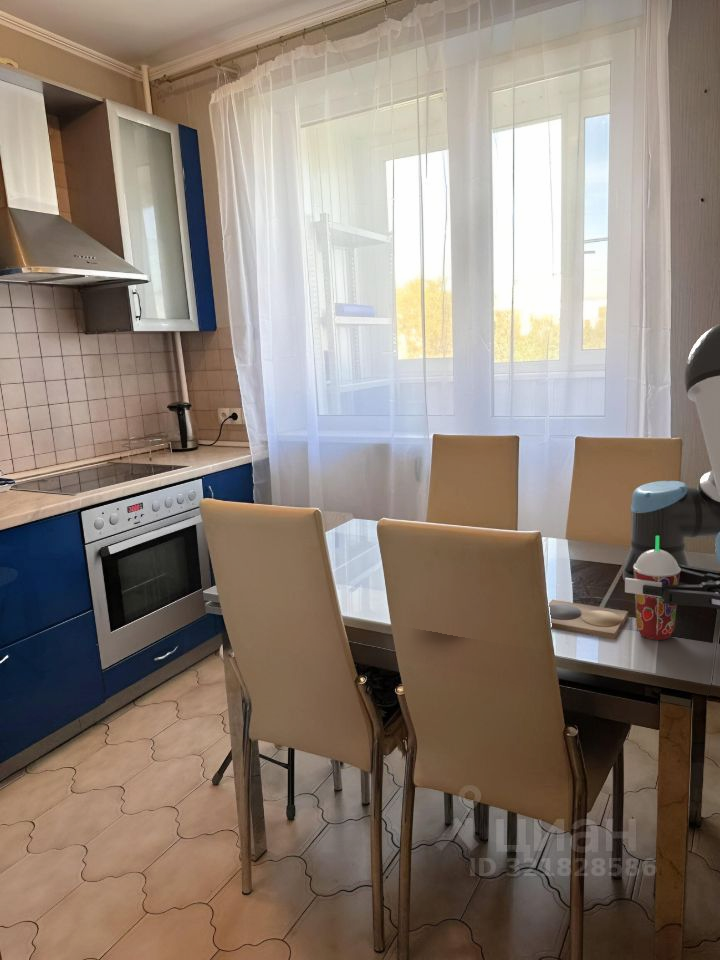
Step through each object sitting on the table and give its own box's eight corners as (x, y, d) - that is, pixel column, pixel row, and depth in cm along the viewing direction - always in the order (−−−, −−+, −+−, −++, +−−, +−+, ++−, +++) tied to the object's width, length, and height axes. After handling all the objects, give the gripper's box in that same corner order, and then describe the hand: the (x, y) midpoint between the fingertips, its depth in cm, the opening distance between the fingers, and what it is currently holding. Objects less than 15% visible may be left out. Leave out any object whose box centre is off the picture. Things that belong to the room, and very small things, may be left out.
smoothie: (684, 643, 126) (687, 542, 122) (637, 643, 128) (639, 543, 124) (671, 625, 134) (674, 529, 130) (627, 624, 136) (629, 530, 132)
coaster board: (552, 604, 149) (552, 598, 149) (627, 616, 140) (628, 610, 140) (534, 625, 139) (534, 618, 139) (614, 639, 130) (614, 632, 130)
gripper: (760, 637, 111) (617, 615, 124) (766, 594, 128) (640, 578, 141) (763, 595, 110) (618, 576, 122) (769, 557, 127) (641, 544, 139)
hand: (630, 577), depth 131 cm, fingers closed on smoothie, 8 cm apart
